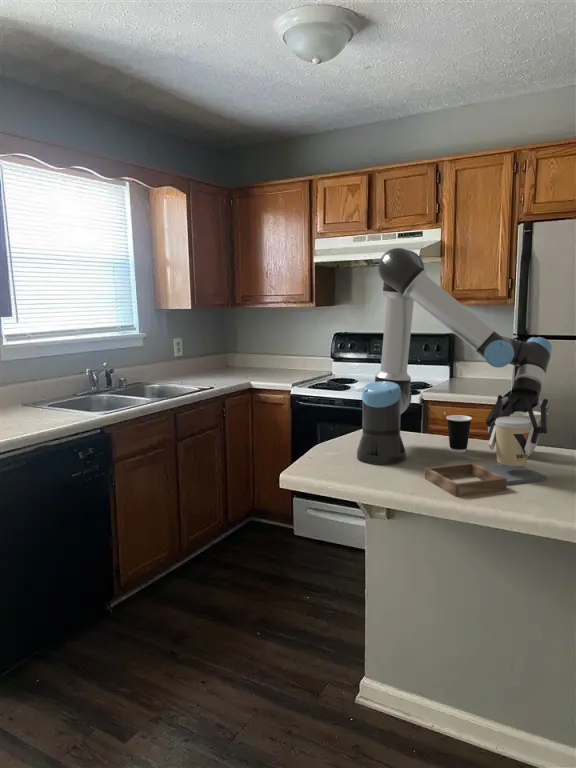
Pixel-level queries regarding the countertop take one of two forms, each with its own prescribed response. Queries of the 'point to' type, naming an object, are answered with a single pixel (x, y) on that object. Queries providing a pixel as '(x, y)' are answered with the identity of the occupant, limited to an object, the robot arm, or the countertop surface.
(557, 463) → the countertop surface
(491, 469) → the rubber mat
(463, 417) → the dixie cup
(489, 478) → the cup holder
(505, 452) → the coffee cup
